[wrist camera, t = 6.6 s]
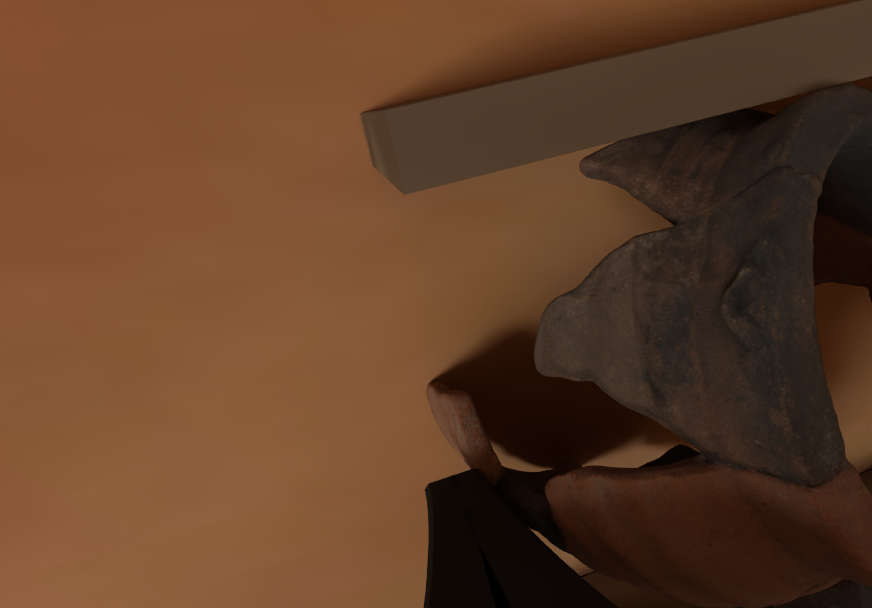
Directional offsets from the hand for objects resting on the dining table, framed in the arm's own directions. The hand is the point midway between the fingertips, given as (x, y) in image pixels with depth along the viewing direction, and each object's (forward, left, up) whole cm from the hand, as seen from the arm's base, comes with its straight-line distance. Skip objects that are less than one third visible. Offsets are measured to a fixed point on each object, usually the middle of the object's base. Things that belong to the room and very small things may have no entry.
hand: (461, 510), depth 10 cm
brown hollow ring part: (+1, -5, -3) cm, 6 cm away
